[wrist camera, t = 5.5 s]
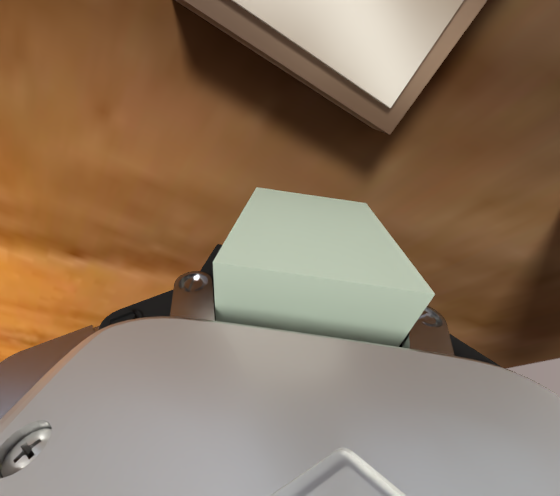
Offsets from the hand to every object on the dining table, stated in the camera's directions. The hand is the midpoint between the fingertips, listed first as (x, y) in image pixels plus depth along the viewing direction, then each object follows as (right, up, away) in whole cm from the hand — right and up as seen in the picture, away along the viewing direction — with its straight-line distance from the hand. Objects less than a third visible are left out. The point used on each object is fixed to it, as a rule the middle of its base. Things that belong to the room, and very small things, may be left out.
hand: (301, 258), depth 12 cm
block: (0, +1, +1) cm, 2 cm away
